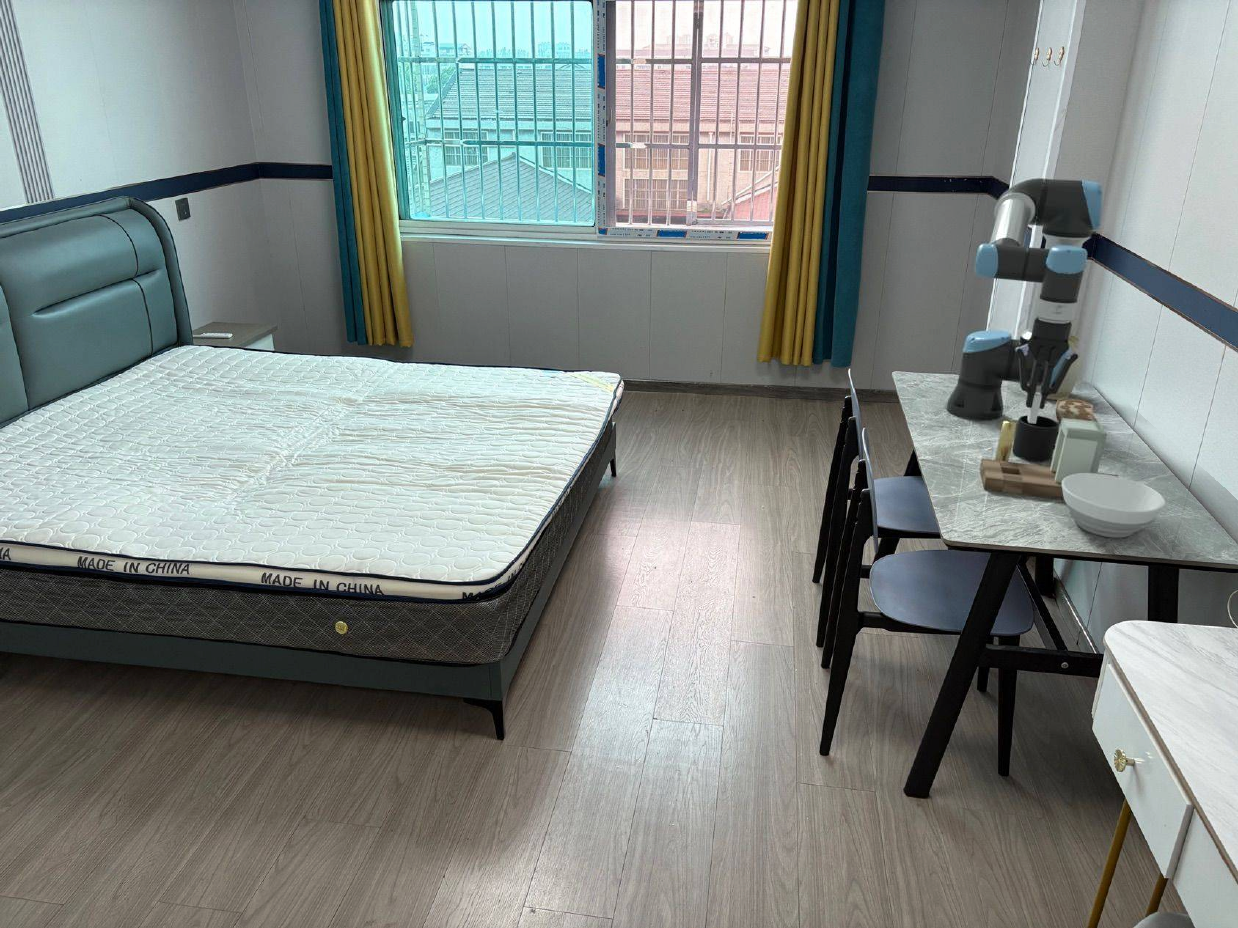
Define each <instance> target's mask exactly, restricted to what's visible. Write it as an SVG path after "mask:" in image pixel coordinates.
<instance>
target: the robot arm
mask: <svg viewBox="0 0 1238 928" xmlns="http://www.w3.org/2000/svg"><path fill="white" fill-rule="evenodd" d="M1102 208H1103V186H1102V184H1100V182H1095V181H1090V180H1089V181H1088V180H1083V179H1082V180H1079V179H1059V178H1057V179H1056V178H1053V179H1052V178H1042V177H1041V178H1040V177H1039V178H1030V179H1027V180H1024V181H1020V182H1018V183H1017V184H1014V185H1013V186H1011V187H1010V188H1008V189H1006V191H1004V192H1003V193H1002V194H1001V195H1000V196H999V198H998V199H997V202H996V204H995V206H994V210H993V215H994V219H995V221H994V222H995V223H994V226H993V231H992V234H991V238H990V241H989V243H982V244H980V245H979V246H978V249H977V253H976V258H975V264H974V271H973V272H974V275H976V276H978V277H982V278H988V279H991V280H992V279H995V280H997V279H998V280H1007V281H1008V280H1009V281H1018V282H1019V281H1020V282H1029V283H1037V285H1036V289H1035V295H1034V297H1033V299H1034V300H1033V303H1032V308H1031V313H1030V316H1029V317H1030V318H1029V323H1028V327H1027V329H1025V330H1024V331H1023V332H1021V333H1020V337H1019V339H1017V338H1013V335H1012V334H1011V333H1010V332H1008V331H1002V330H994V329H992V330H980V331H975V332H972V333H970V334H968V335H967V337H966V338H965V341H964V346H963V349H962V358H961V361H960V362H961V363H960V364H961V365H960V367H959V368H960V369H959V373H958V380H957V384H956V386H955V387H954V389H953V391H952V393H951V394H950V396H949V398H948V399H947V404H946V410H947V412H949V413H951V414H952V415H954V416H957V417H960V418H963V419H967V420H975V421H986V422H987V421H996V420H999V419H1001V418H1002V417H1003V414H1004V409H1005V408H1004V402H1003V401H1004V400H1003V396H1002V395H1003V394H1002V386H1003V381H1004V382H1010V383H1011V382H1012V383H1018V384H1019V385H1020V389H1021V390H1022V391H1023V392H1026V393H1027V392H1028V393H1027V395H1026V400H1025V406H1026V408H1028V414H1027V415H1028V418H1027V420H1028V422H1029V423H1035V424H1036V421H1037V416H1039V412H1040V411H1039V410H1044V408H1045V407H1046V402H1047V399H1046V398H1047V396H1048V395H1049V394H1056V393H1057V392H1058V390H1059V388H1060V386H1061V384H1062V382H1063V380H1064V378H1065V376H1066V374H1067V372H1068V370H1069V368H1070V366H1071V364H1072V363H1073V362H1074V361H1076V360H1077V359H1078V355H1077V353H1076V352H1073V351H1072V350H1071V347H1070V346H1069V343H1068V340H1069V335H1070V331H1071V327H1072V323H1071V322H1070V321H1071V320H1073V321H1074V317H1075V313H1076V306H1077V304H1078V303H1077V302H1078V297H1079V293H1080V291H1081V290H1080V289H1081V285H1082V282H1083V276H1084V273H1085V269H1087V268H1086V267H1087V258H1088V251H1087V249H1086V248H1082V247H1083V244H1084V243H1085V242H1087V241H1088V240H1089V239H1091V237H1092V232H1093V231H1094V232H1095V231H1099V229H1100V227H1101V218H1102V211H1103V210H1102ZM1029 226H1037V227H1042V230H1041V235H1042V236H1043V237H1044V239H1045V241H1046V242H1045V247H1044V248H1040V247H1028V246H1025V241H1026V237H1027V232H1028V227H1029ZM1027 384H1029V385H1027ZM1037 386H1041V393H1037V392H1036V388H1037Z"/></svg>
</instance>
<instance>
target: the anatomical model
mask: <svg viewBox="0 0 1238 928" xmlns="http://www.w3.org/2000/svg"><path fill="white" fill-rule="evenodd" d="M1093 408H1094V405H1093V404H1091V403H1090V402H1087V401H1085V400H1081V399H1077V398H1067V399H1060V400H1056V404H1055V412H1054V413H1055V417H1056V421H1057V422H1058V423H1059V425H1060V424H1061V420H1062V418H1067V419H1076V420H1085V421H1095V422H1099V420H1097V418H1096V417H1095V415H1094V413H1093Z"/></svg>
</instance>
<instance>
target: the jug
mask: <svg viewBox="0 0 1238 928" xmlns="http://www.w3.org/2000/svg"><path fill="white" fill-rule="evenodd" d="M1070 322H1071V323H1072V327H1071V331H1070V335H1069V340H1068V343H1069V346H1070V347H1071V350H1072V351H1073V352H1076V353H1077V355H1078V359H1077V360H1076V361H1074V362H1073V363H1072V364H1071V366H1070V368H1069V370H1068V372H1067V374H1066V376H1065V378H1064V380H1063V382H1062V384H1061V386H1060V388H1059V390H1058V392H1057V393H1056V394H1049V395H1048V396H1047V398H1046V400H1050V401H1058V400H1060V399H1069V398H1070V395H1071V393H1072V392H1073V390H1074V387H1075V384H1076V383H1077V380H1078V379H1079V377H1080V374H1081V371H1082V367H1083V366H1082V362H1083V361H1082V357H1081V353H1080V351H1079V350H1078V349H1077V348H1076V347H1075V346H1074V345H1075V344H1076V343H1077V342H1080V338H1079V337H1078V336H1076V335H1074V334H1073V333H1074V330H1075V321H1074V319H1073V320H1071V321H1070ZM1027 385H1029V384H1027ZM1036 392H1037V393H1041V386H1037V388H1036ZM1026 393H1027V394H1028V392H1026Z"/></svg>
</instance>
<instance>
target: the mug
mask: <svg viewBox="0 0 1238 928" xmlns="http://www.w3.org/2000/svg"><path fill="white" fill-rule="evenodd" d="M1027 418H1028V414H1027V415H1022V416H1020V417H1018V421H1017V424H1016V429H1015V434H1014V438H1013V443H1012V448H1011V451H1012V453H1013V455H1014V456H1016V457H1018V458H1021V459H1024V460H1027V461H1032V462H1033V461H1034V462H1047V461H1049V460H1052V459H1053V455H1054V450H1055V446H1056V442H1057V437H1058V433H1059V429H1060V424H1059V423H1058V420H1054V419H1052V418H1049V417H1046V416H1041V415H1038V416H1037V421H1036V424H1035V423H1029V422H1028V420H1027Z"/></svg>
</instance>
